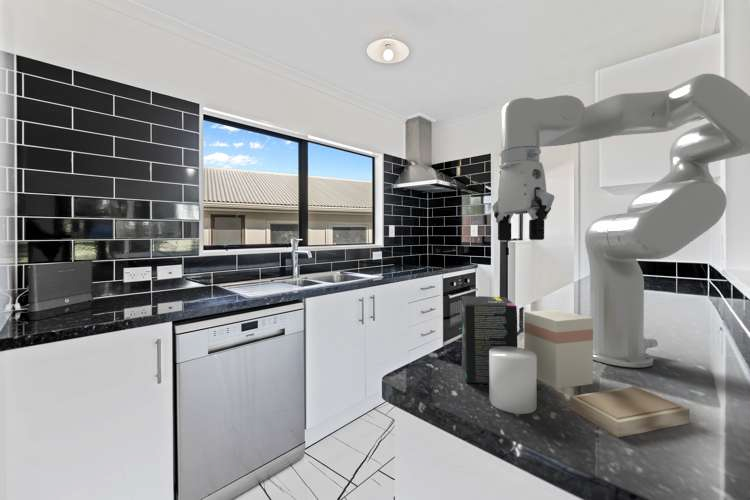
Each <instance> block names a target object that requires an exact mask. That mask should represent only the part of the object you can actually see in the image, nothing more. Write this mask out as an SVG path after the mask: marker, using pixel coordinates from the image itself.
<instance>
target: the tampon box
mask: <svg viewBox="0 0 750 500" xmlns="http://www.w3.org/2000/svg"><path fill="white" fill-rule="evenodd" d="M517 308H518V307H517V305H515V304H514V303H513V302H512V300H510V299H509V298H507V297H506V296H503V297H502V296H486V295H485V296H484V295H483V296H482V295H481V296H480V295H479V296H472V295H470V296H469V295H462V297H461V367H462V371H463V375H464V379H465V380H464V381H465V383H469V384H470V383H471V384H479V385H489V350H490V349H491V348H493V347H499V346H510V347H518V309H517Z"/></svg>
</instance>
